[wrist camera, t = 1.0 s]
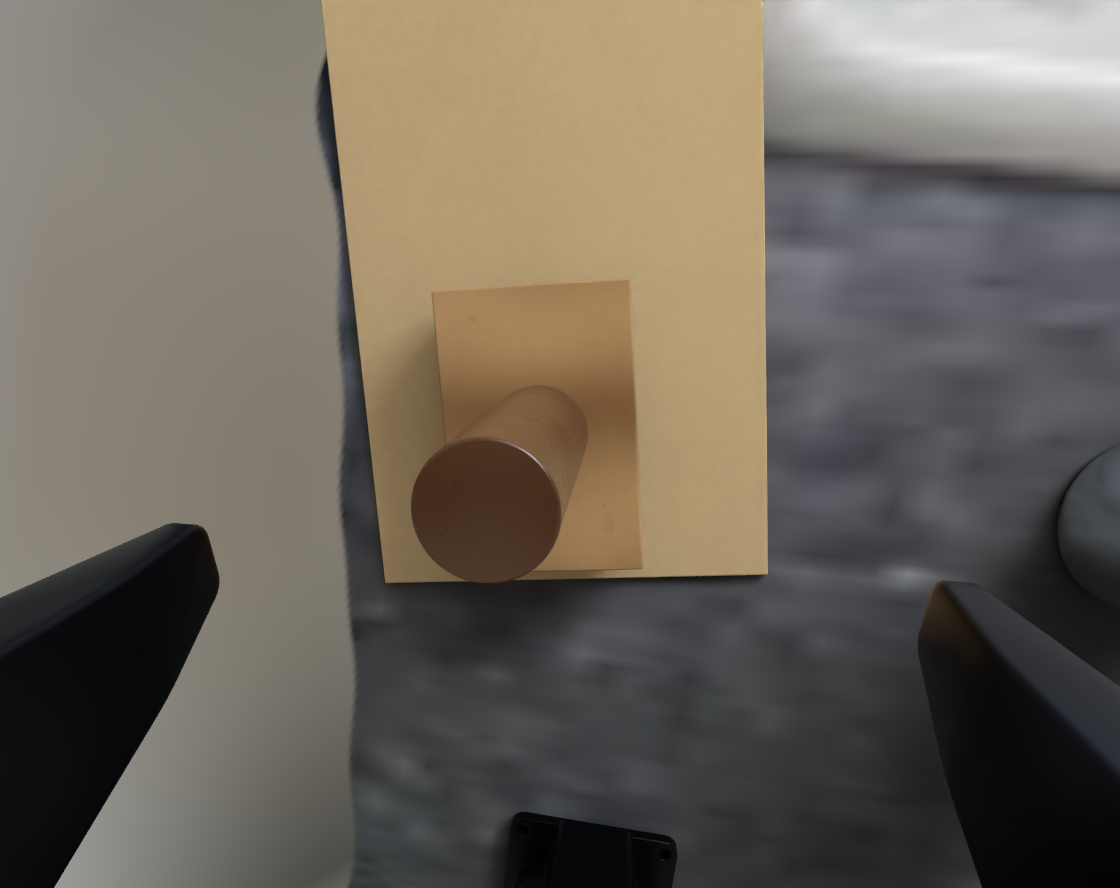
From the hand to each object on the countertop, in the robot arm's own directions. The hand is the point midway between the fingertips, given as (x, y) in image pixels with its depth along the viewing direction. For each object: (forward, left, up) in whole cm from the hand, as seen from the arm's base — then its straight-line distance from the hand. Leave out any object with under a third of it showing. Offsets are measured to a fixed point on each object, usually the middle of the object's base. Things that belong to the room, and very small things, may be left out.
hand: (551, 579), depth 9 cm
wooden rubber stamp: (-1, +2, -17) cm, 17 cm away
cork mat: (+4, +2, -17) cm, 18 cm away
